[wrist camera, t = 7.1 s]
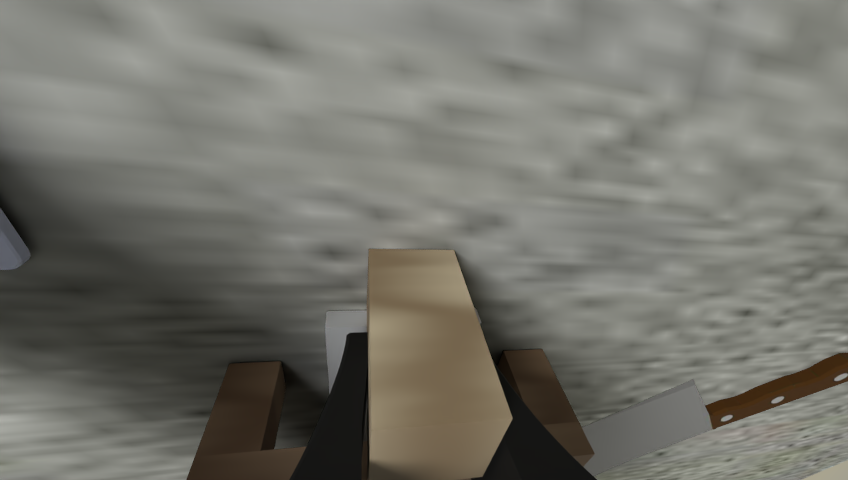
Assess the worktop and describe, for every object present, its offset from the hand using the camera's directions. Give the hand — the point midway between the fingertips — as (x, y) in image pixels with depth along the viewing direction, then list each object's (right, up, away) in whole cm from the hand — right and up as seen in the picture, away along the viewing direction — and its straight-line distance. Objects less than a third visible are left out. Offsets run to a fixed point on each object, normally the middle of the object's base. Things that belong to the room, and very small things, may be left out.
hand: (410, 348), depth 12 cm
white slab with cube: (-1, -3, +5) cm, 6 cm away
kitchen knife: (+17, -8, +12) cm, 23 cm away
